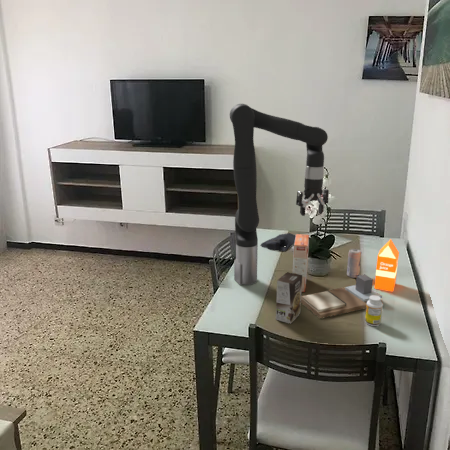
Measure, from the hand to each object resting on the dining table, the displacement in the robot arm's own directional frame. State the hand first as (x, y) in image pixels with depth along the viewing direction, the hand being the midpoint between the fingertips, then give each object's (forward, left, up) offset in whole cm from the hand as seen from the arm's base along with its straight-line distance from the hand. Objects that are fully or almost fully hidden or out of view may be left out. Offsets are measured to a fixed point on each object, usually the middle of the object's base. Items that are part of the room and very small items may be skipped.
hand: (311, 214), depth 200 cm
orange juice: (+26, -19, -30) cm, 44 cm away
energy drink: (+20, -5, -30) cm, 36 cm away
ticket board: (-4, -24, -30) cm, 39 cm away
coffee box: (-25, -26, -30) cm, 47 cm away
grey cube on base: (+10, -24, -28) cm, 39 cm away
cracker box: (-7, -4, -30) cm, 31 cm away
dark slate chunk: (+10, +43, -30) cm, 54 cm away
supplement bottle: (+1, -42, -30) cm, 52 cm away
